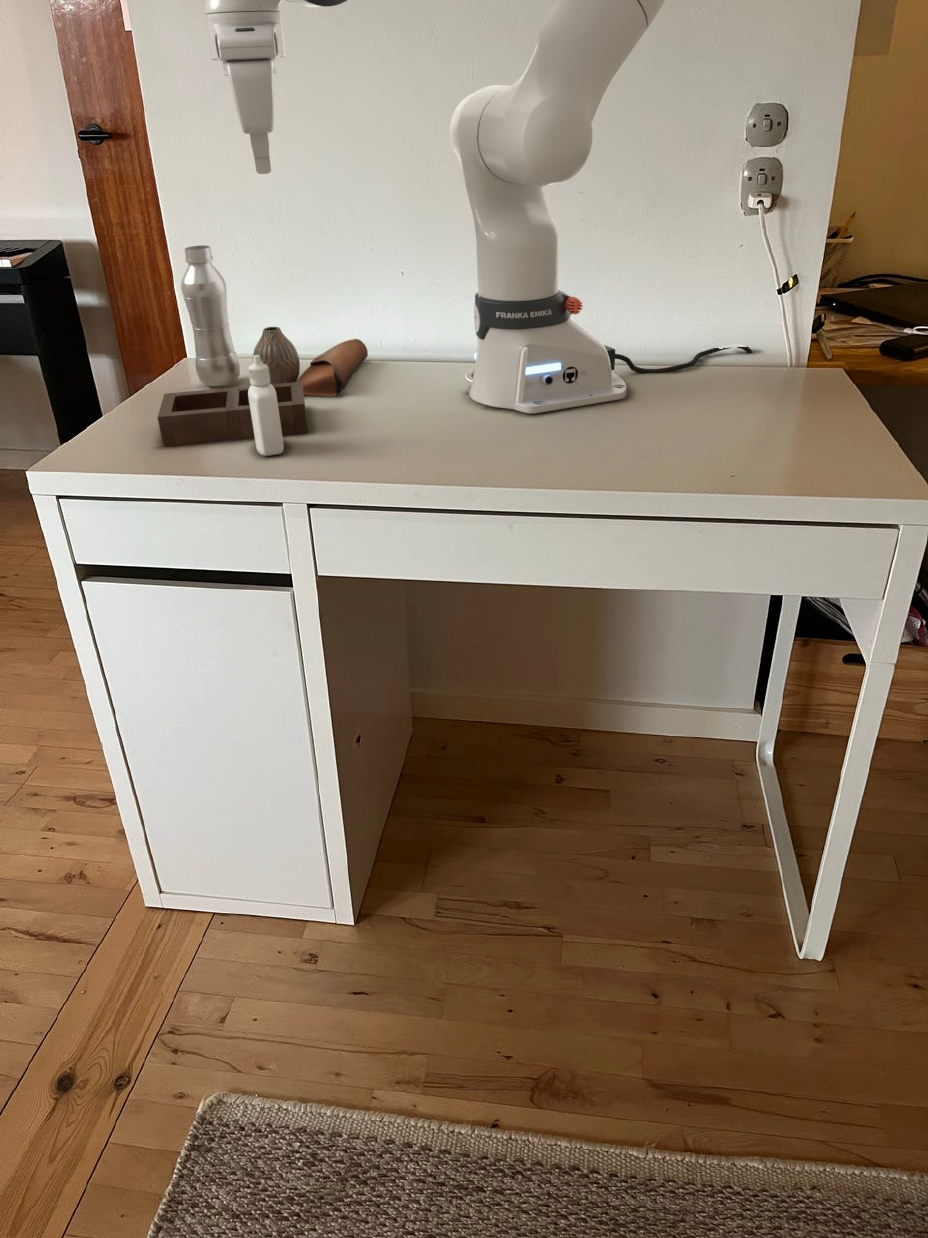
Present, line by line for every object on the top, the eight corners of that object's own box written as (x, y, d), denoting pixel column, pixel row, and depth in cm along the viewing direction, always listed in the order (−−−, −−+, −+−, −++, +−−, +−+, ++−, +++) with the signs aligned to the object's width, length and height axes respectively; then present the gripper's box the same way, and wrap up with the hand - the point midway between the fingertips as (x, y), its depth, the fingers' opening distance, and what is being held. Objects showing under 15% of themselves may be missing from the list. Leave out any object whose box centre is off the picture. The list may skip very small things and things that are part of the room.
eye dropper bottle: (245, 456, 121) (230, 361, 114) (262, 440, 125) (248, 348, 119) (278, 457, 120) (264, 362, 114) (294, 442, 124) (281, 349, 118)
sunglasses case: (317, 358, 156) (334, 322, 153) (355, 380, 157) (373, 345, 154) (287, 393, 141) (305, 354, 138) (330, 416, 142) (349, 378, 139)
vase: (293, 394, 142) (285, 334, 138) (249, 393, 143) (240, 334, 139) (308, 380, 148) (301, 322, 143) (266, 379, 149) (258, 322, 145)
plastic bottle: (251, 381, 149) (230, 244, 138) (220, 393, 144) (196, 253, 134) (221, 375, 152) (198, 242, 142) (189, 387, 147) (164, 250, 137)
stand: (305, 409, 136) (301, 381, 134) (308, 432, 127) (304, 403, 125) (169, 421, 133) (164, 393, 131) (163, 446, 125) (157, 416, 123)
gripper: (222, 44, 123) (239, 163, 130) (217, 41, 105) (237, 179, 112) (272, 42, 124) (286, 160, 131) (274, 39, 106) (291, 175, 113)
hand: (263, 169), depth 121 cm, fingers open, 8 cm apart
